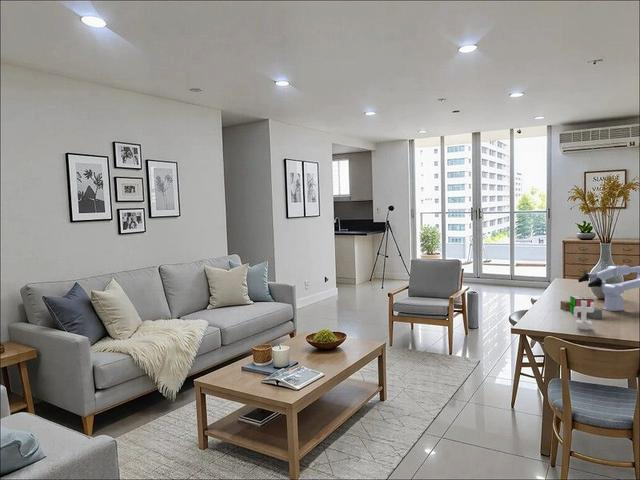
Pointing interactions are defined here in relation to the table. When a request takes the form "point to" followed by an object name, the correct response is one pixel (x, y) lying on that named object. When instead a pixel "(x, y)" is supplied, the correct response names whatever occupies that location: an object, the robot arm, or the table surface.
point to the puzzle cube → (579, 302)
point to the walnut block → (565, 305)
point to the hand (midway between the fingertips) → (583, 283)
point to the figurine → (584, 315)
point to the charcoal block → (595, 313)
